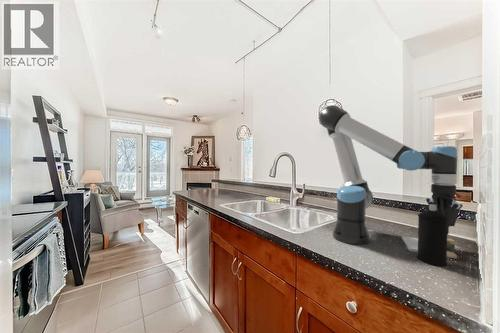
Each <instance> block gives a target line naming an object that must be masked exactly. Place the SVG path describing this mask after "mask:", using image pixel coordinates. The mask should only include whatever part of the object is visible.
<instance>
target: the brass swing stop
mask: <svg viewBox="0 0 500 333" xmlns="http://www.w3.org/2000/svg"><path fill="white" fill-rule="evenodd" d="M447 243H451V244H454V245H455V246H456V241H455V240H454V239H453V238H450V237H449V238H448V237H447Z"/></svg>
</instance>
